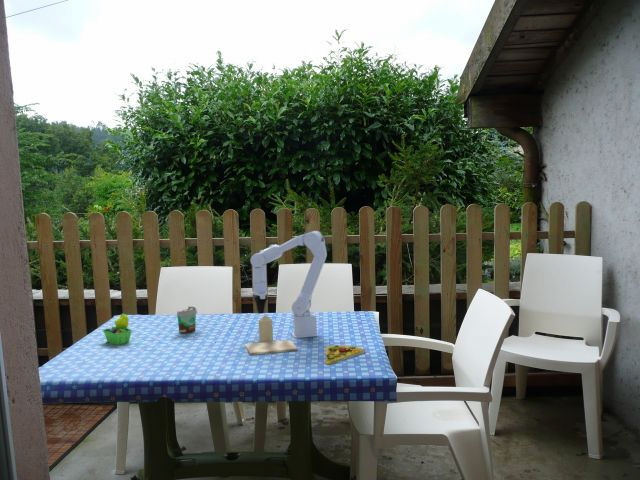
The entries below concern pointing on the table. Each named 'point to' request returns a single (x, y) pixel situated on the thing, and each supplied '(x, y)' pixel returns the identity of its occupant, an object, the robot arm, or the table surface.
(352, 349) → the pizza slice
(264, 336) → the candle
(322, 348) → the table surface
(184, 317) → the food container
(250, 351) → the board
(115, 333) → the green potted plant
